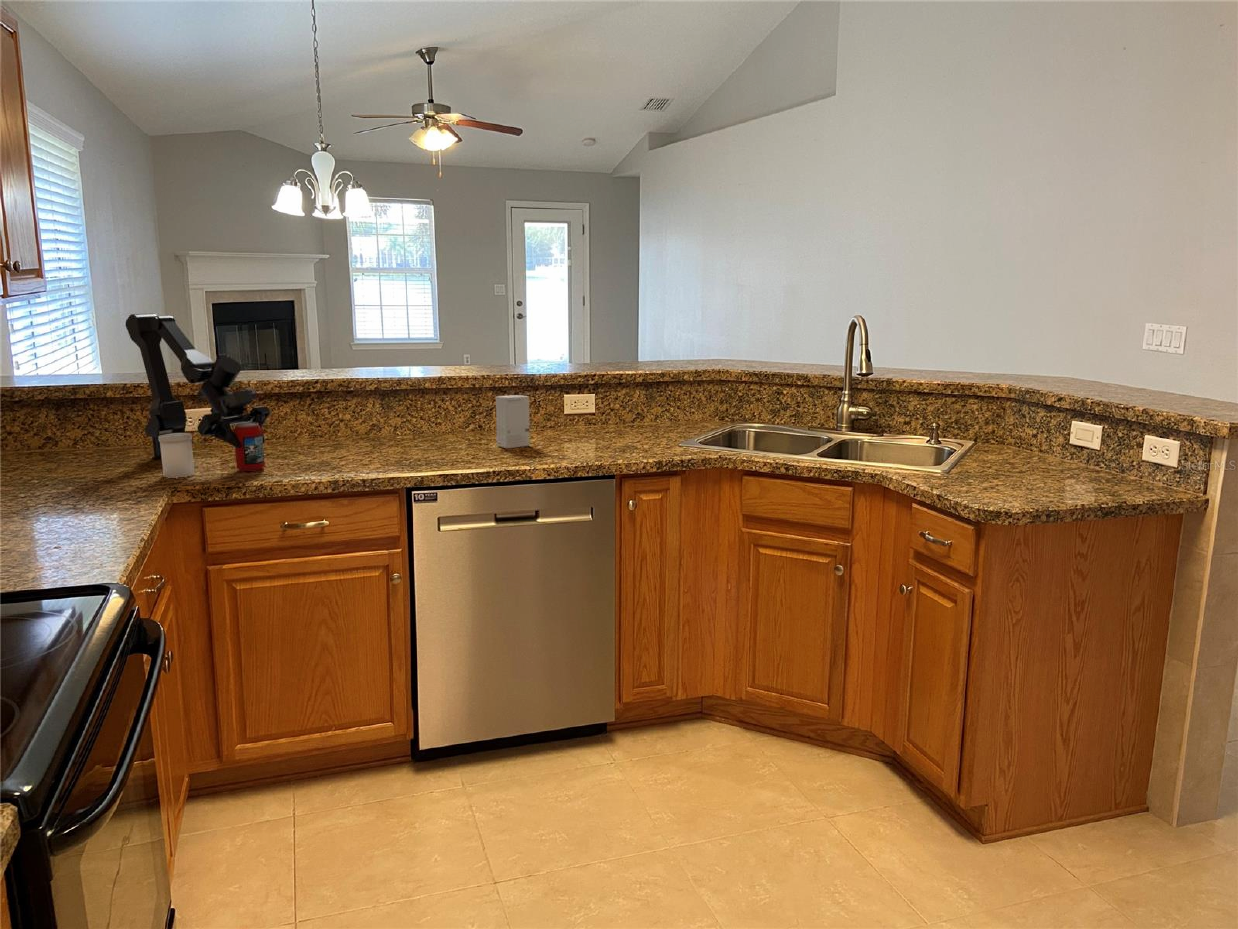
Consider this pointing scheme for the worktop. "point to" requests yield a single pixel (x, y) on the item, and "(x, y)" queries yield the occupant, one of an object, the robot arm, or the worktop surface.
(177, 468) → the sugar jar
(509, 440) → the skincare box
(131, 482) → the worktop surface
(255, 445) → the beverage can
